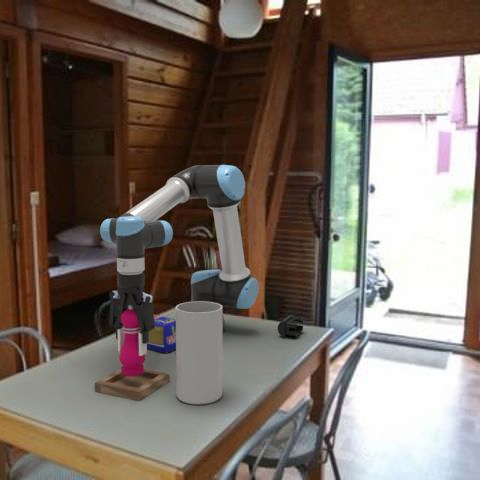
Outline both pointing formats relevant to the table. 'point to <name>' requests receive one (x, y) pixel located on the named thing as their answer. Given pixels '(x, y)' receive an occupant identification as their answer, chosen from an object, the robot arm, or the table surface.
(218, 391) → the cylinder vase
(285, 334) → the end cap
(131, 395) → the walnut holder
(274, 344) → the table surface
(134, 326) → the pepper mill
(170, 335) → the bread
